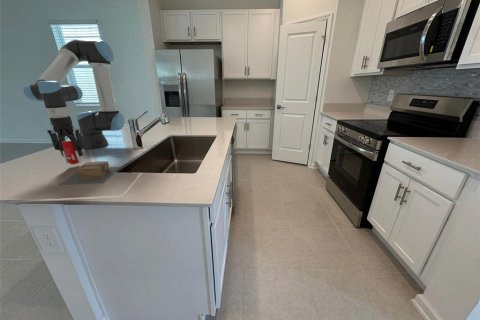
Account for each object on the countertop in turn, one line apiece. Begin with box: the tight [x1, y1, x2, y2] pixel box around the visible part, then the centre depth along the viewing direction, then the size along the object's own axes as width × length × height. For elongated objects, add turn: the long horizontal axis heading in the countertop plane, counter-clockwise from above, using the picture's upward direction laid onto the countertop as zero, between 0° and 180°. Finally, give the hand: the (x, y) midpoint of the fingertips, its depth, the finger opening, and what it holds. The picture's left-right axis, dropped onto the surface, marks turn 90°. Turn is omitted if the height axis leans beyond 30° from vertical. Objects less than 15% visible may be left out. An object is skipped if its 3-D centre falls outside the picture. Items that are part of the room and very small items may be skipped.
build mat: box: [58, 166, 122, 186], centre depth 94 cm, size 18×18×1 cm
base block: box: [75, 160, 110, 180], centre depth 93 cm, size 9×9×5 cm
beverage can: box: [62, 138, 80, 165], centre depth 99 cm, size 5×5×12 cm
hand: (75, 162), depth 102 cm, fingers closed on beverage can, 5 cm apart
